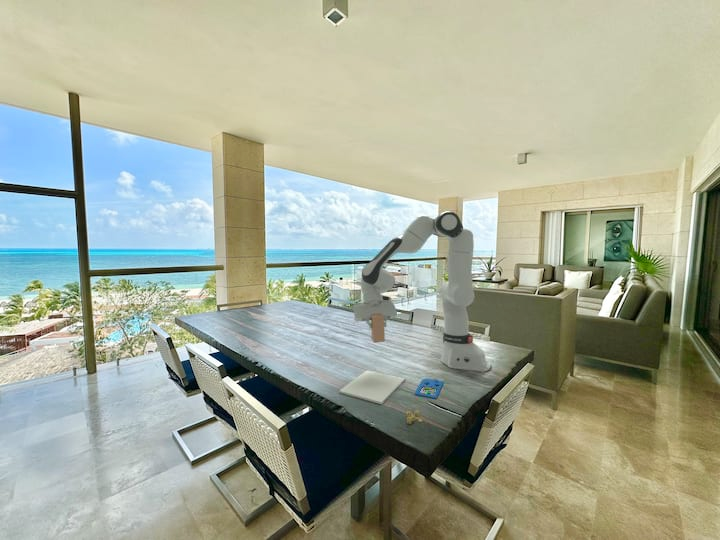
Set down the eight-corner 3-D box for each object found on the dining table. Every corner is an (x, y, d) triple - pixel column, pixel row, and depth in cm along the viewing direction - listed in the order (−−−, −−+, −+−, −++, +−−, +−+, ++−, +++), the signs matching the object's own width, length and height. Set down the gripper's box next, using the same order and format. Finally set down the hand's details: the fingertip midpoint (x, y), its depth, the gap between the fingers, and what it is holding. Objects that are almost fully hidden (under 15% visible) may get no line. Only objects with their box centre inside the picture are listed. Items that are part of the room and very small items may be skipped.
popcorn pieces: (407, 426, 91) (407, 420, 91) (403, 416, 96) (403, 411, 96) (423, 425, 92) (423, 419, 92) (418, 416, 97) (418, 410, 97)
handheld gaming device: (443, 380, 120) (436, 397, 106) (443, 383, 120) (436, 400, 106) (423, 377, 123) (413, 392, 110) (423, 379, 124) (413, 395, 110)
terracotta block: (382, 338, 138) (381, 313, 137) (384, 341, 133) (383, 315, 132) (371, 339, 138) (370, 314, 136) (373, 342, 133) (373, 316, 131)
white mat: (404, 380, 122) (404, 378, 122) (381, 404, 103) (381, 402, 103) (366, 371, 131) (366, 370, 131) (339, 392, 112) (339, 390, 112)
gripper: (352, 299, 139) (356, 325, 130) (394, 296, 142) (400, 322, 133) (351, 307, 144) (355, 332, 135) (391, 304, 147) (398, 328, 138)
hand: (378, 327), depth 134 cm, fingers closed on terracotta block, 5 cm apart
